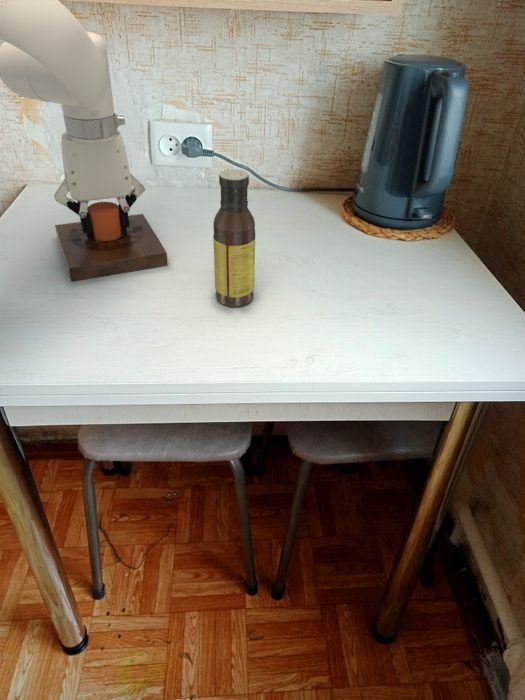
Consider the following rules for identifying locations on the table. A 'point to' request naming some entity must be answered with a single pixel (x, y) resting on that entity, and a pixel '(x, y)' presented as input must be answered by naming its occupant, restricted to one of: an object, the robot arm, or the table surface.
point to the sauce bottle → (234, 241)
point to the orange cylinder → (105, 221)
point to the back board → (110, 250)
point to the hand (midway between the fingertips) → (106, 232)
